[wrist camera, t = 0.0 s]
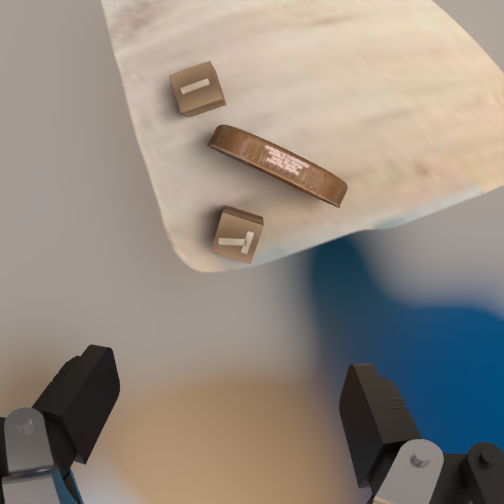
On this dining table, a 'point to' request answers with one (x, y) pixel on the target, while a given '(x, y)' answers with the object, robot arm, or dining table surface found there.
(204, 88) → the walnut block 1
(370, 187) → the dining table surface
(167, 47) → the dining table surface
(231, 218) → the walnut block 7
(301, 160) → the tin
